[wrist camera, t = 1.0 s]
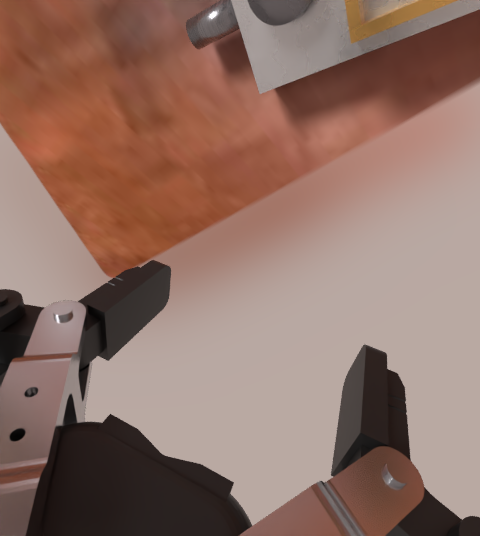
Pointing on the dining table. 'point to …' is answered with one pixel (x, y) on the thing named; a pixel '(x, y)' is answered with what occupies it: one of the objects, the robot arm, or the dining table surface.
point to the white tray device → (316, 30)
